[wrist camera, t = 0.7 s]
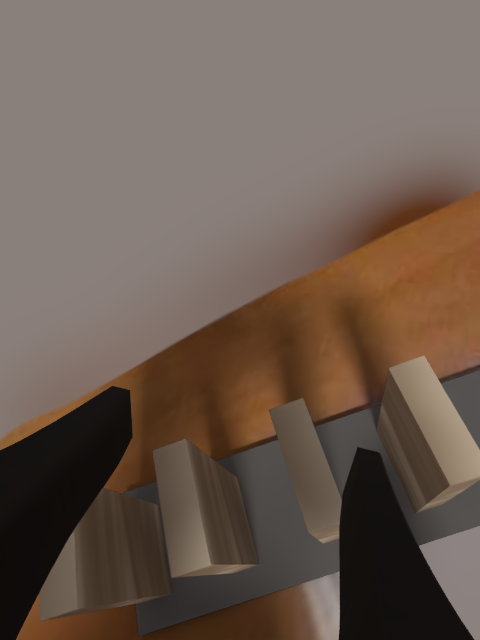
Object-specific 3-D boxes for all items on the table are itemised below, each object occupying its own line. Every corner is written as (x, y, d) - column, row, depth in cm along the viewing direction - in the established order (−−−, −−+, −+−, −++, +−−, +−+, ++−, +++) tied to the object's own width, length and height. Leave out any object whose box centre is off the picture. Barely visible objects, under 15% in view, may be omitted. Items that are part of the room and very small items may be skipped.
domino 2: (237, 478, 27) (185, 438, 18) (259, 564, 24) (210, 564, 16) (214, 485, 27) (152, 450, 18) (233, 573, 24) (171, 577, 16)
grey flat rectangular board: (581, 492, 23) (585, 491, 22) (141, 635, 24) (138, 636, 24) (495, 366, 27) (497, 364, 27) (126, 493, 28) (123, 492, 28)
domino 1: (158, 505, 27) (72, 478, 19) (171, 593, 24) (77, 608, 16) (135, 512, 27) (39, 489, 19) (146, 601, 24) (39, 621, 16)
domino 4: (400, 422, 26) (424, 355, 18) (442, 504, 24) (492, 471, 15) (376, 430, 26) (388, 367, 18) (415, 513, 24) (450, 485, 15)
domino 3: (318, 450, 27) (303, 397, 18) (349, 535, 24) (349, 519, 15) (294, 458, 27) (268, 409, 18) (323, 543, 24) (308, 532, 16)
